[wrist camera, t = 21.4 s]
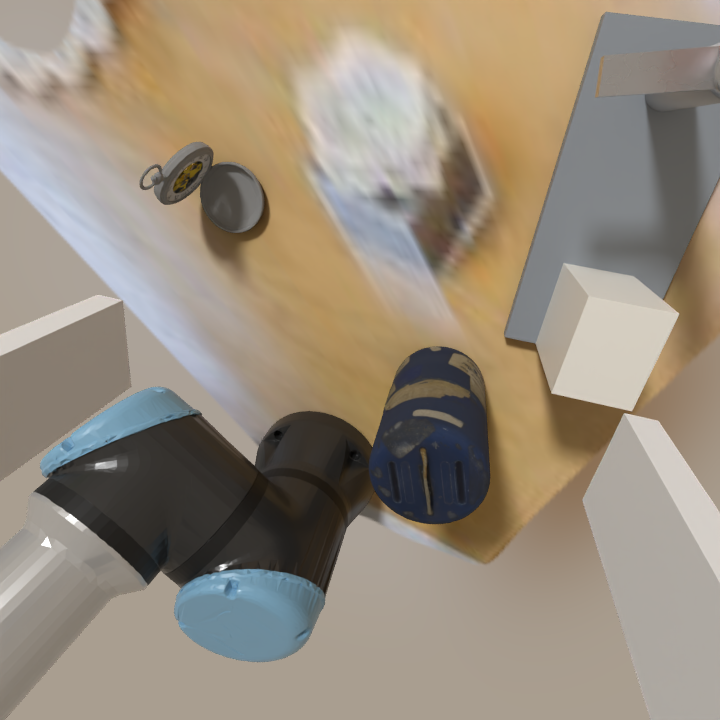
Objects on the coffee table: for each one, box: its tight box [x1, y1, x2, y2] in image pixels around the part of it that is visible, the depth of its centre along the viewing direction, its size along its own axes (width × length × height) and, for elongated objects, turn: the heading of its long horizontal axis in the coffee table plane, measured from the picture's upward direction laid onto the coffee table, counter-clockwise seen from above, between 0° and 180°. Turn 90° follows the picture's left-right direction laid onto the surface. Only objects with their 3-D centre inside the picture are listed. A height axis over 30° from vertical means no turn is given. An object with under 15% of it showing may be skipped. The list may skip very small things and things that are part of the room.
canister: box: [369, 346, 490, 524], centre depth 42 cm, size 10×10×18 cm
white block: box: [536, 263, 679, 411], centre depth 38 cm, size 8×6×10 cm
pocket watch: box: [140, 142, 264, 233], centre depth 42 cm, size 8×8×10 cm
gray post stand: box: [504, 12, 720, 344], centre depth 34 cm, size 26×12×11 cm, turn 171°
